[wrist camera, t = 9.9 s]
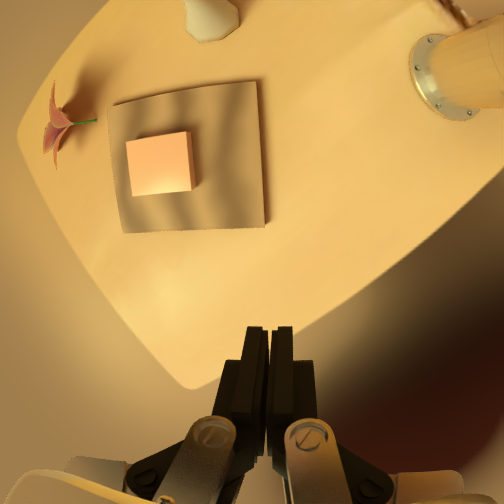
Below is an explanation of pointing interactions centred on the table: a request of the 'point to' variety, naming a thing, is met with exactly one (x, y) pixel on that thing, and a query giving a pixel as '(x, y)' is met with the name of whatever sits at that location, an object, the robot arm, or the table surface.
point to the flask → (210, 19)
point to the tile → (161, 164)
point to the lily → (56, 127)
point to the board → (205, 159)
